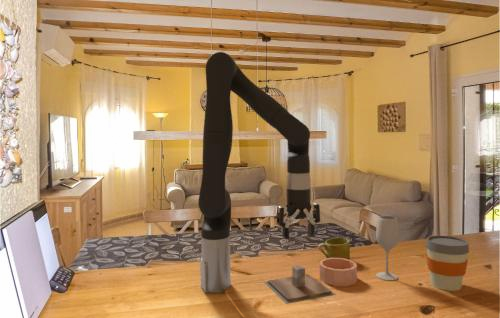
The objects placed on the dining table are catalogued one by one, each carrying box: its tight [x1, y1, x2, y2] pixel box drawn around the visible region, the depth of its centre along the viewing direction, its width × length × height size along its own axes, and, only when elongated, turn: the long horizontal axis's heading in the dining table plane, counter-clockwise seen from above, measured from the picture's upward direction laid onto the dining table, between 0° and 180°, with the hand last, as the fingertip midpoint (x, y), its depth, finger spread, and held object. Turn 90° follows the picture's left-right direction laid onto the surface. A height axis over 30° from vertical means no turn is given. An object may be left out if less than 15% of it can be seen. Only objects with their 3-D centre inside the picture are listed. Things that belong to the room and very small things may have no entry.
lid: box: [267, 264, 333, 302], centre depth 122 cm, size 15×15×7 cm
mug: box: [317, 236, 351, 260], centre depth 150 cm, size 12×10×10 cm
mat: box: [263, 281, 337, 305], centre depth 122 cm, size 17×17×1 cm
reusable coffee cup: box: [425, 234, 470, 292], centre depth 125 cm, size 13×13×15 cm
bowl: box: [319, 257, 358, 287], centre depth 129 cm, size 12×12×6 cm
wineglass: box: [375, 215, 400, 282], centre depth 132 cm, size 8×8×21 cm
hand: (298, 237), depth 121 cm, fingers open, 8 cm apart
